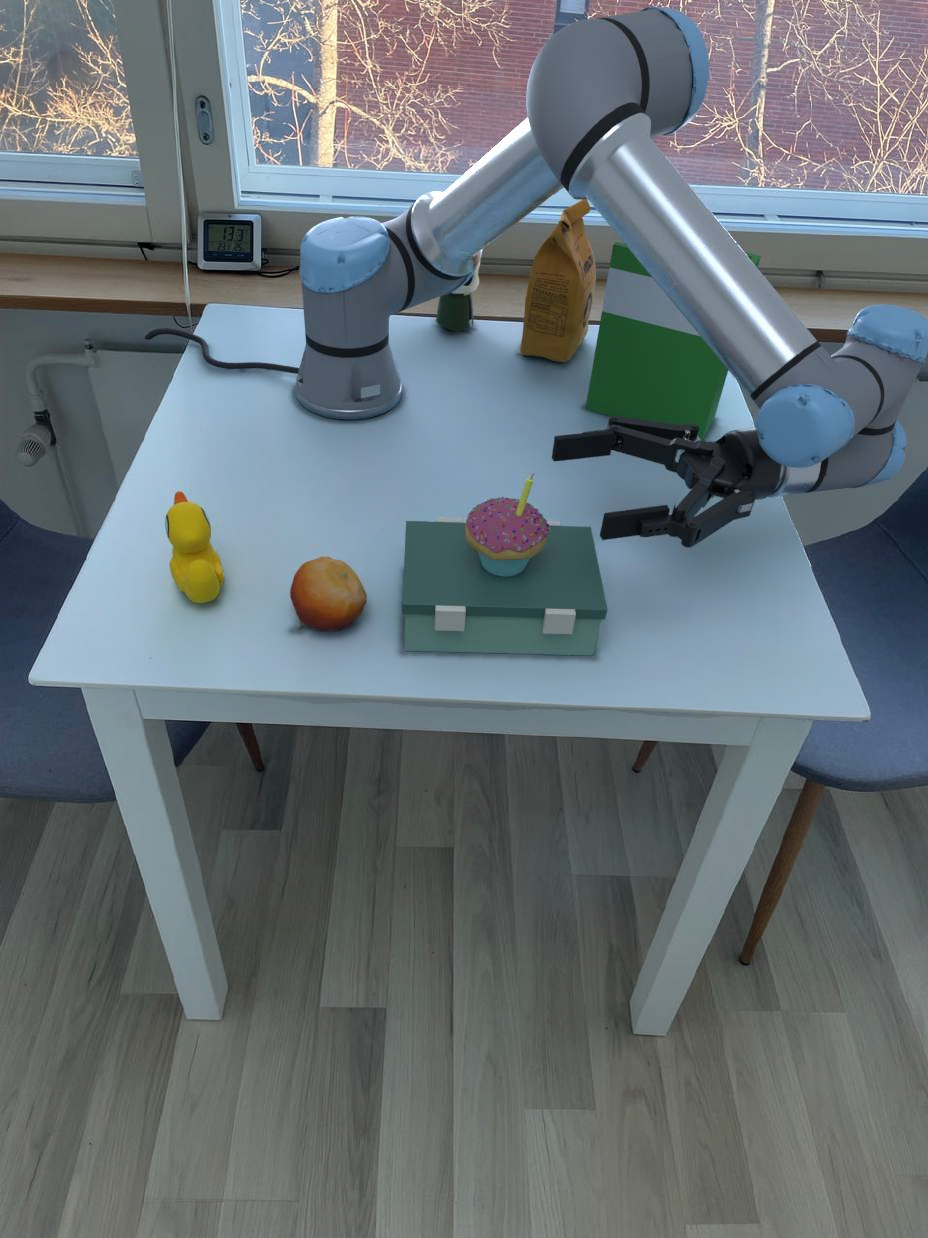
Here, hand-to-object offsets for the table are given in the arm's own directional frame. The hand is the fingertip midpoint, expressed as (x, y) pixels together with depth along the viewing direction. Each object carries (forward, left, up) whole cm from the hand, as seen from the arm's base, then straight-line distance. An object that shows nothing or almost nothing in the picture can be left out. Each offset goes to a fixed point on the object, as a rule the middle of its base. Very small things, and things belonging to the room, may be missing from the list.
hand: (577, 485), depth 89 cm
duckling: (-35, -19, -16) cm, 43 cm away
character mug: (-43, +53, -16) cm, 71 cm away
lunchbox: (-5, -5, -16) cm, 17 cm away
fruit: (-20, -16, -16) cm, 30 cm away
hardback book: (-5, +45, -16) cm, 48 cm away
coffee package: (-26, +56, -16) cm, 64 cm away
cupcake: (-5, -5, -9) cm, 11 cm away
